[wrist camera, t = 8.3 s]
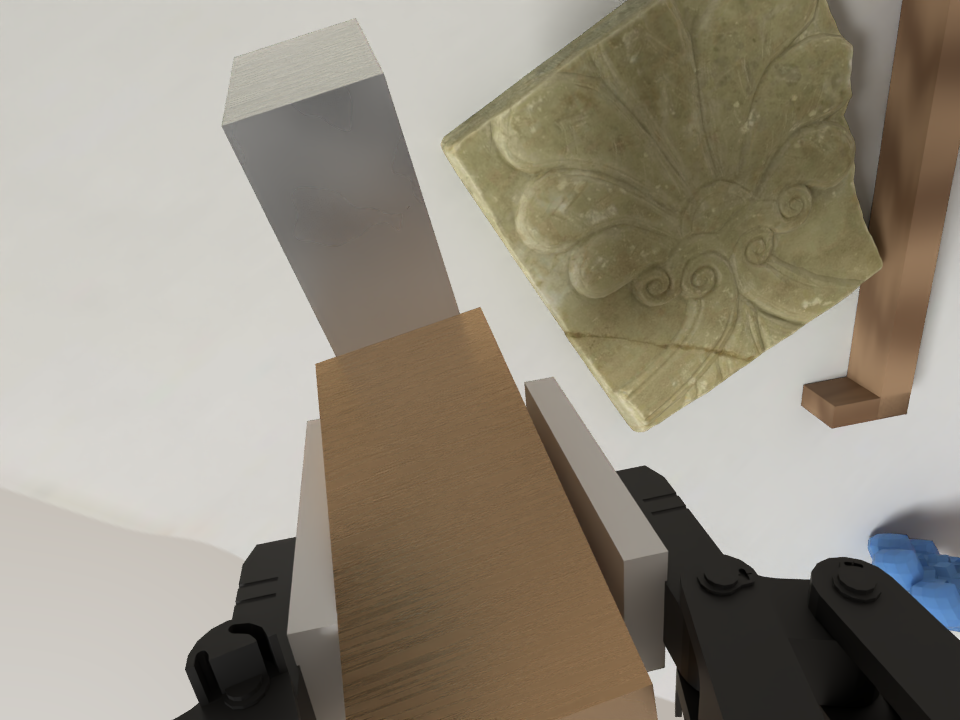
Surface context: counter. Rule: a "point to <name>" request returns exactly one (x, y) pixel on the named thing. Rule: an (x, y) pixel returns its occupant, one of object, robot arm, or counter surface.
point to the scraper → (420, 426)
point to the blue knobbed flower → (921, 573)
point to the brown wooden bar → (903, 219)
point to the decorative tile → (678, 189)
